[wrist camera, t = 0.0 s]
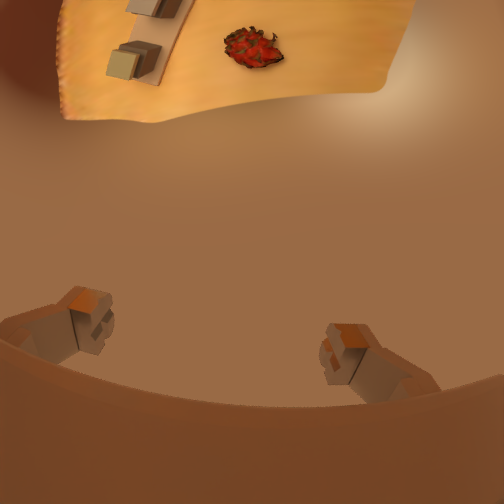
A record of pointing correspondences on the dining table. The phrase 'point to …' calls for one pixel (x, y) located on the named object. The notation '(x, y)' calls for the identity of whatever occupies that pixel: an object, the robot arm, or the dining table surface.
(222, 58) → the dining table surface
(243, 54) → the dragon fruit
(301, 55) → the dining table surface
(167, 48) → the button console
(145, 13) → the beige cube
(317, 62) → the dining table surface
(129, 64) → the sage button
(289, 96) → the dining table surface
